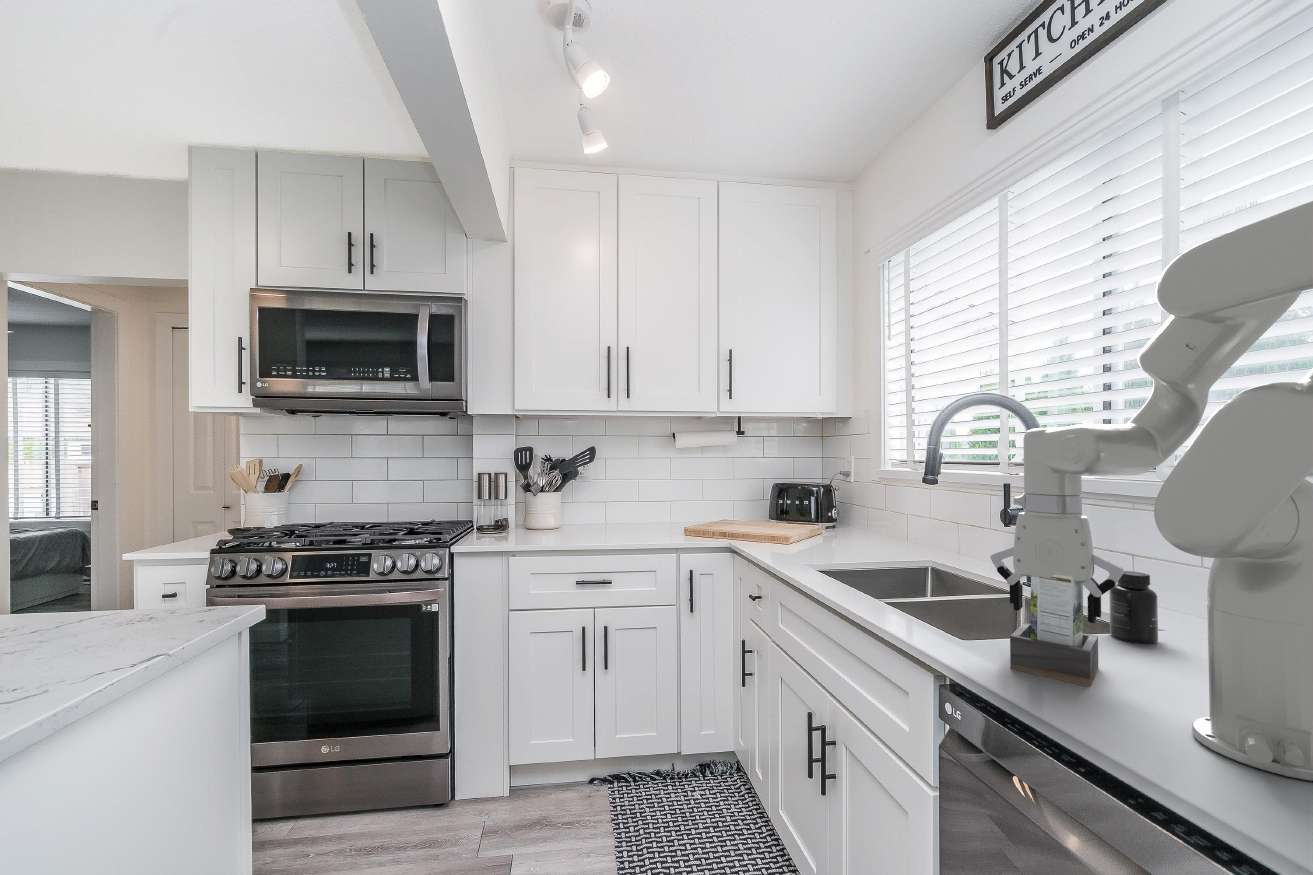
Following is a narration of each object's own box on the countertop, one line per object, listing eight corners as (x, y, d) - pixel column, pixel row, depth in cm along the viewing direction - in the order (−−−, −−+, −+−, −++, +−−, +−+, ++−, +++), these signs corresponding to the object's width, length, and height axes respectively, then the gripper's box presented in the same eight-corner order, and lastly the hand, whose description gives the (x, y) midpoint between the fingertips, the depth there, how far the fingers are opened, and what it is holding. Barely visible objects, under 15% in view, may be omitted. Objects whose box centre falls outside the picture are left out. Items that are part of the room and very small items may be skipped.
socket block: (1090, 686, 82) (1089, 651, 82) (1010, 668, 89) (1010, 636, 89) (1098, 667, 89) (1097, 635, 90) (1023, 652, 96) (1023, 622, 96)
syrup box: (1040, 653, 93) (1039, 564, 94) (1085, 663, 89) (1083, 569, 89) (1029, 661, 89) (1028, 568, 90) (1075, 672, 85) (1073, 574, 85)
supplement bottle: (1166, 646, 100) (1165, 578, 100) (1119, 642, 102) (1118, 575, 102) (1147, 635, 106) (1146, 570, 107) (1103, 631, 109) (1102, 568, 109)
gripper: (984, 503, 93) (985, 608, 93) (1120, 511, 81) (1122, 632, 81) (996, 501, 99) (997, 600, 98) (1124, 508, 87) (1126, 621, 86)
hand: (1053, 614), depth 89 cm, fingers open, 9 cm apart
